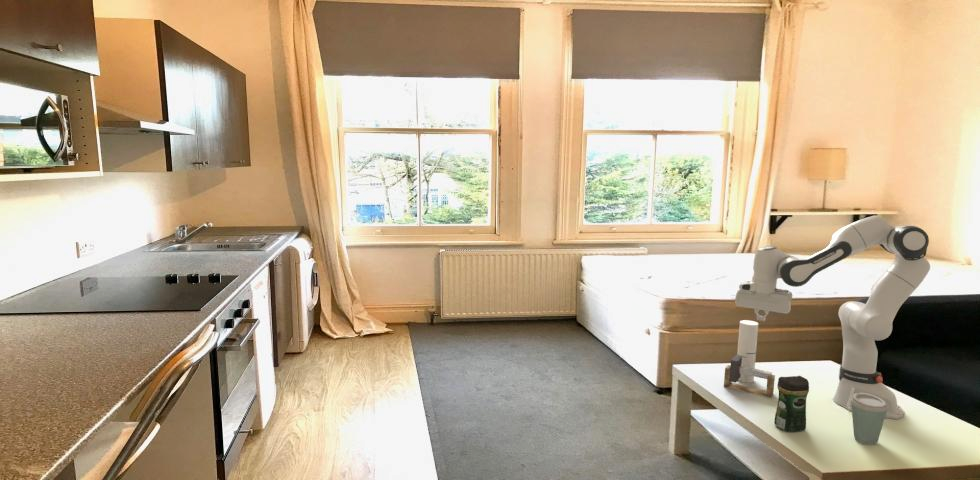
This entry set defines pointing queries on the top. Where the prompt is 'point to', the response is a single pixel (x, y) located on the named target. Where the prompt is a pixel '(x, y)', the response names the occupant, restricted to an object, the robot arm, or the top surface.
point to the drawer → (767, 392)
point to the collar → (735, 368)
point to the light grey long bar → (753, 372)
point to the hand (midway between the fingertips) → (760, 320)
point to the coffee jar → (792, 403)
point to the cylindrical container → (747, 346)
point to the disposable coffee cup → (867, 417)
